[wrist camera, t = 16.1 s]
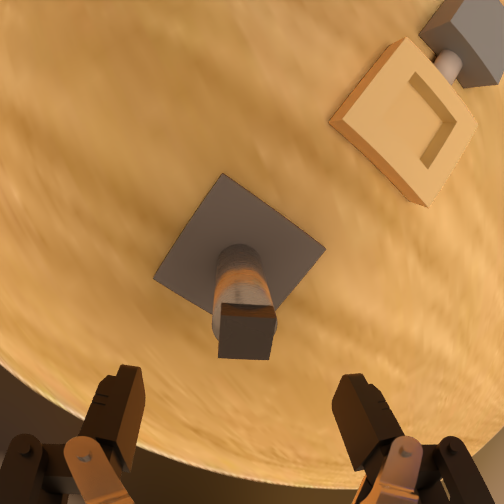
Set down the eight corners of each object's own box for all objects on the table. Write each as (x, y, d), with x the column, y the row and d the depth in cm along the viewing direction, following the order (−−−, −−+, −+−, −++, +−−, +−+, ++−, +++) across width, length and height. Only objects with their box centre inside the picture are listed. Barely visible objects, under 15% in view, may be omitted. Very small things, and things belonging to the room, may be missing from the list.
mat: (154, 275, 23) (152, 278, 23) (222, 173, 21) (222, 173, 20) (251, 333, 26) (252, 336, 25) (323, 246, 24) (326, 249, 23)
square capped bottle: (218, 242, 22) (212, 307, 13) (263, 245, 23) (286, 311, 13) (215, 282, 23) (209, 363, 14) (257, 285, 24) (275, 365, 15)
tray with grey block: (409, 201, 23) (443, 214, 18) (328, 122, 20) (354, 116, 16) (498, 44, 17) (526, 39, 12) (443, -21, 14) (469, -34, 10)
